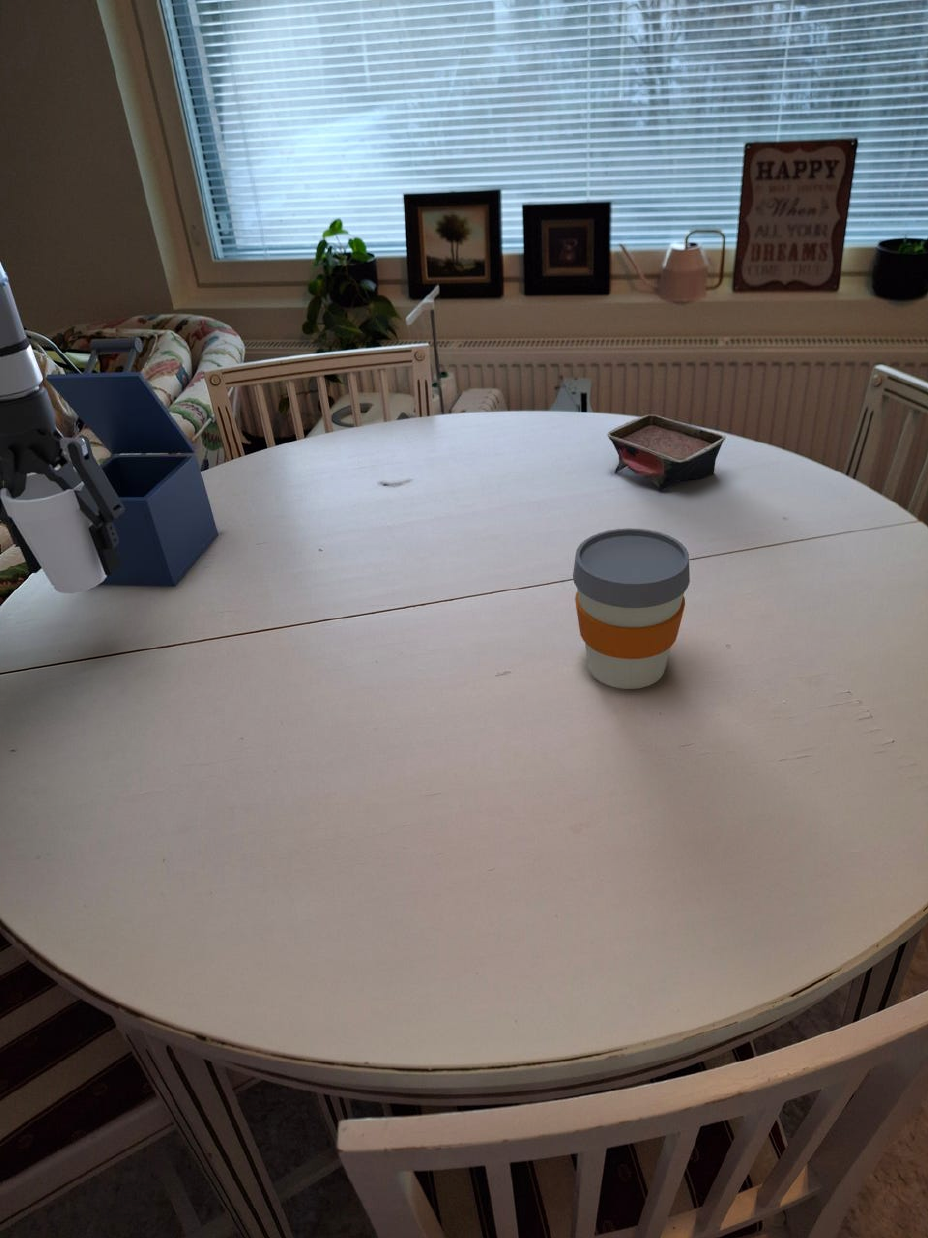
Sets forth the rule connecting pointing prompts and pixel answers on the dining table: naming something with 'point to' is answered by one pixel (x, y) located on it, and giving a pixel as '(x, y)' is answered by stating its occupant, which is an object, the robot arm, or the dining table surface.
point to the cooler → (159, 517)
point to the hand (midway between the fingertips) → (76, 568)
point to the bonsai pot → (665, 449)
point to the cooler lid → (121, 404)
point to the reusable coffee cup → (630, 603)
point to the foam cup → (56, 533)
